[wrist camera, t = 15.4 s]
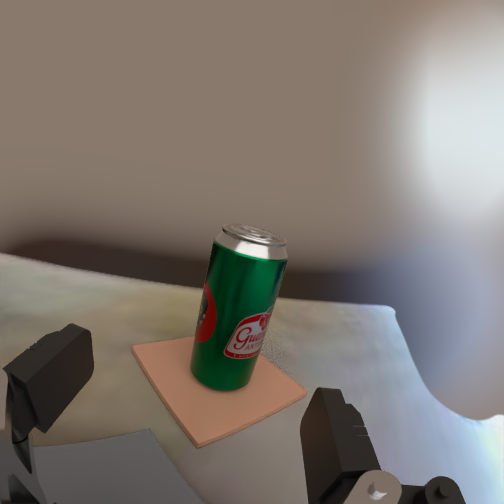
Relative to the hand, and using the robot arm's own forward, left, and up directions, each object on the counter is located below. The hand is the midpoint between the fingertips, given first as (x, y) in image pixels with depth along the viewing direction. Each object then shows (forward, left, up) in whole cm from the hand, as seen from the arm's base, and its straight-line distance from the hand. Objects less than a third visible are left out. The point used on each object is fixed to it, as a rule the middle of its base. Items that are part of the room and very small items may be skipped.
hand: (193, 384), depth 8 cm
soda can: (-7, +8, -9) cm, 14 cm away
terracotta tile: (-8, +8, -9) cm, 14 cm away
